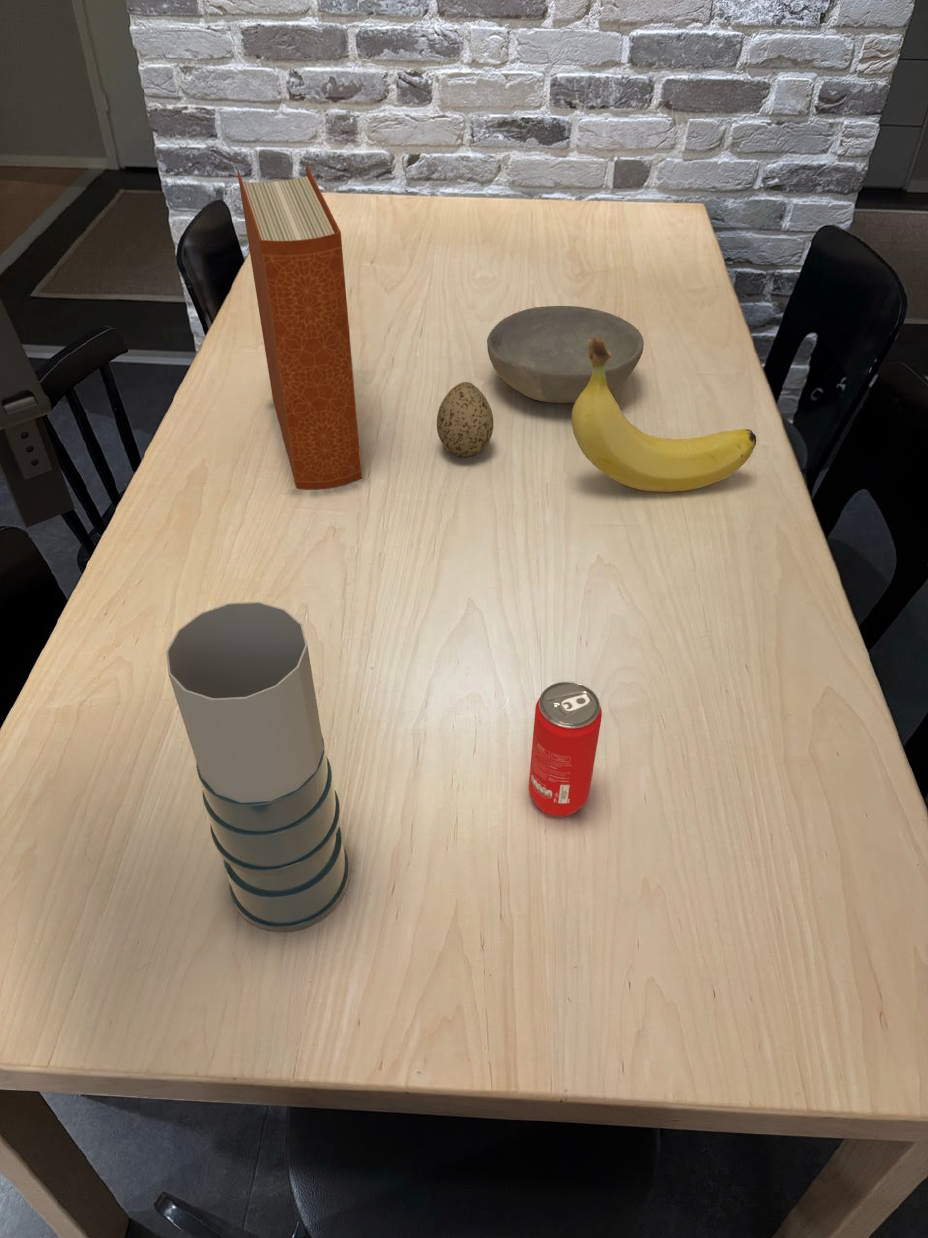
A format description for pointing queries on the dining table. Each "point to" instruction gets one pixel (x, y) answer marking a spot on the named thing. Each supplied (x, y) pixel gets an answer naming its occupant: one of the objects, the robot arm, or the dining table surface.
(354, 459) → the book
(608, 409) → the banana
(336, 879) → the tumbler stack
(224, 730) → the cup
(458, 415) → the decorative egg
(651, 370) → the dining table surface
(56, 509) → the robot arm
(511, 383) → the bowl
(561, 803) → the beverage can
